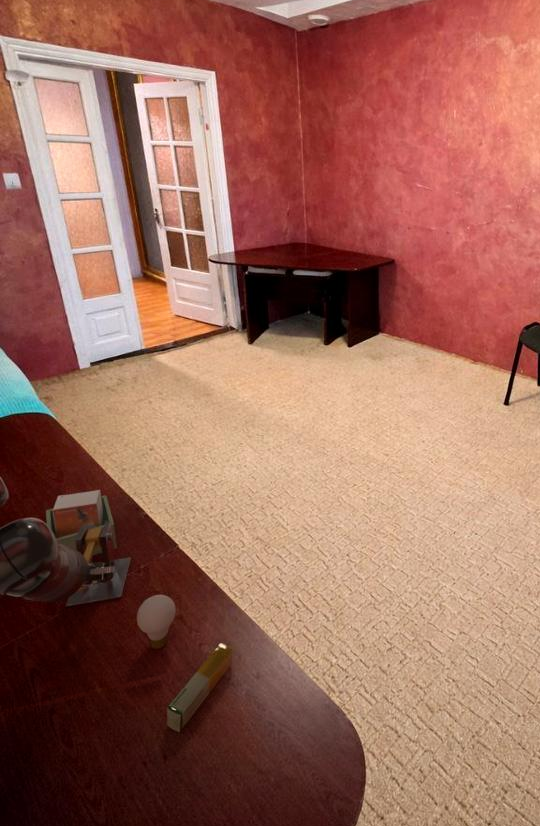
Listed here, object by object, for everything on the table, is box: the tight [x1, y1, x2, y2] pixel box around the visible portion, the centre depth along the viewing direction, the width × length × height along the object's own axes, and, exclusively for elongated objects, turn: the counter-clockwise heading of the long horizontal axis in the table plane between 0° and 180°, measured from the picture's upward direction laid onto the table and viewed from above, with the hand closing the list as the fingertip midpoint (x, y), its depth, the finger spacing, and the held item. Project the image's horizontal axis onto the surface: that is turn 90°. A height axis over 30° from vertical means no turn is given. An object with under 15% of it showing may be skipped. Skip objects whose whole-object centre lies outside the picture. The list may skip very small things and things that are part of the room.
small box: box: [52, 489, 104, 538], centre depth 104 cm, size 8×6×10 cm
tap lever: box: [77, 528, 102, 592], centre depth 87 cm, size 14×4×4 cm, turn 19°
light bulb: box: [136, 594, 177, 650], centre depth 82 cm, size 6×6×10 cm
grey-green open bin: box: [45, 495, 118, 557], centre depth 105 cm, size 12×11×7 cm
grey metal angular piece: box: [65, 522, 132, 609], centre depth 93 cm, size 11×9×13 cm
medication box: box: [166, 642, 234, 733], centre depth 75 cm, size 12×3×4 cm, turn 161°
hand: (83, 580), depth 84 cm, fingers closed on tap lever, 3 cm apart
